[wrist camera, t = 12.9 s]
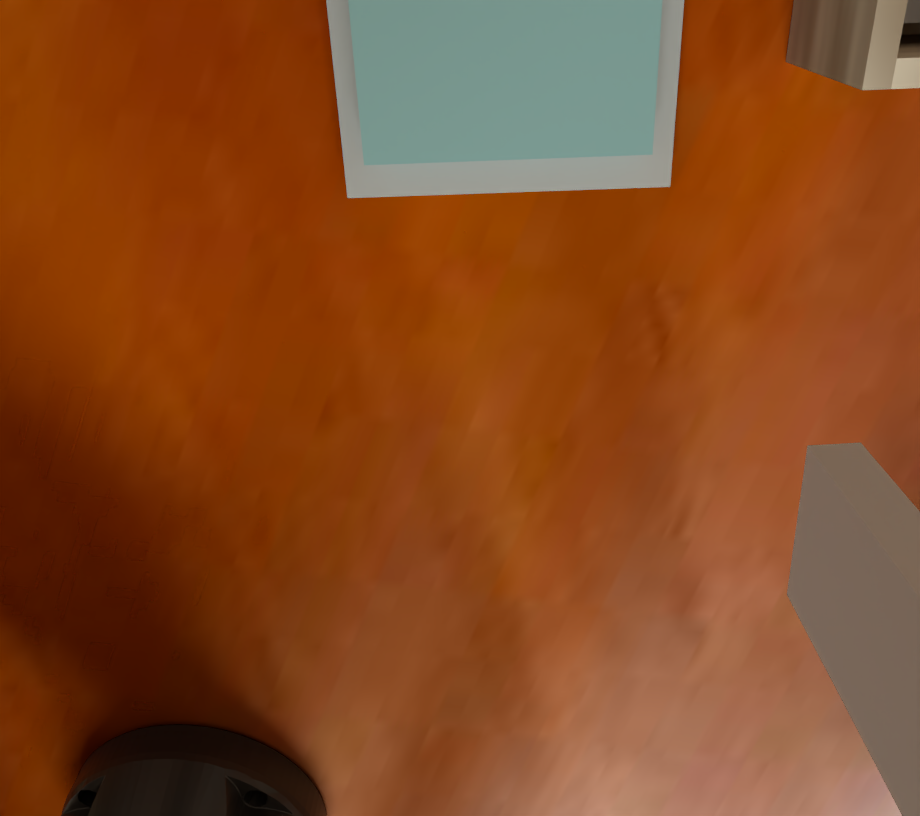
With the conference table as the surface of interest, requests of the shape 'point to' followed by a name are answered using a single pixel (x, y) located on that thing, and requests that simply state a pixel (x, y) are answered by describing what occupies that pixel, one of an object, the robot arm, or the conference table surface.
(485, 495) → the conference table surface
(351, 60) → the mat
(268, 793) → the robot arm
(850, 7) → the box
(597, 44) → the lid
